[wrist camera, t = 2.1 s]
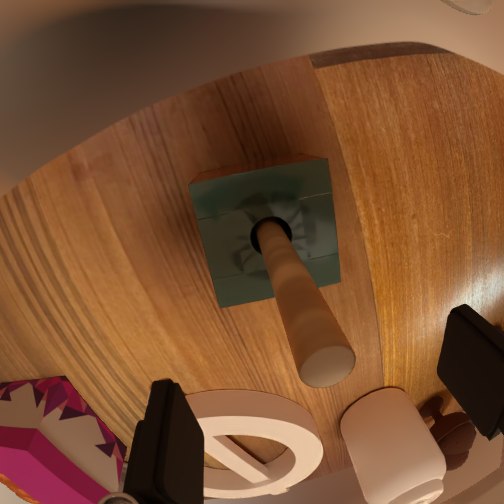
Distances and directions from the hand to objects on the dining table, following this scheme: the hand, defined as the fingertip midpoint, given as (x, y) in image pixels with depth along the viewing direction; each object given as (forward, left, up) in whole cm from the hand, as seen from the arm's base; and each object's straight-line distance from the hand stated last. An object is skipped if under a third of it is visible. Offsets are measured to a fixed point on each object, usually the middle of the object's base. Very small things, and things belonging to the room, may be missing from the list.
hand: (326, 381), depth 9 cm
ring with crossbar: (+36, -11, -23) cm, 44 cm away
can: (+36, +13, -23) cm, 44 cm away
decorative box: (+27, -40, -23) cm, 53 cm away
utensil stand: (0, 0, -22) cm, 22 cm away
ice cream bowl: (+42, +26, -23) cm, 54 cm away
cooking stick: (0, 0, -22) cm, 22 cm away
